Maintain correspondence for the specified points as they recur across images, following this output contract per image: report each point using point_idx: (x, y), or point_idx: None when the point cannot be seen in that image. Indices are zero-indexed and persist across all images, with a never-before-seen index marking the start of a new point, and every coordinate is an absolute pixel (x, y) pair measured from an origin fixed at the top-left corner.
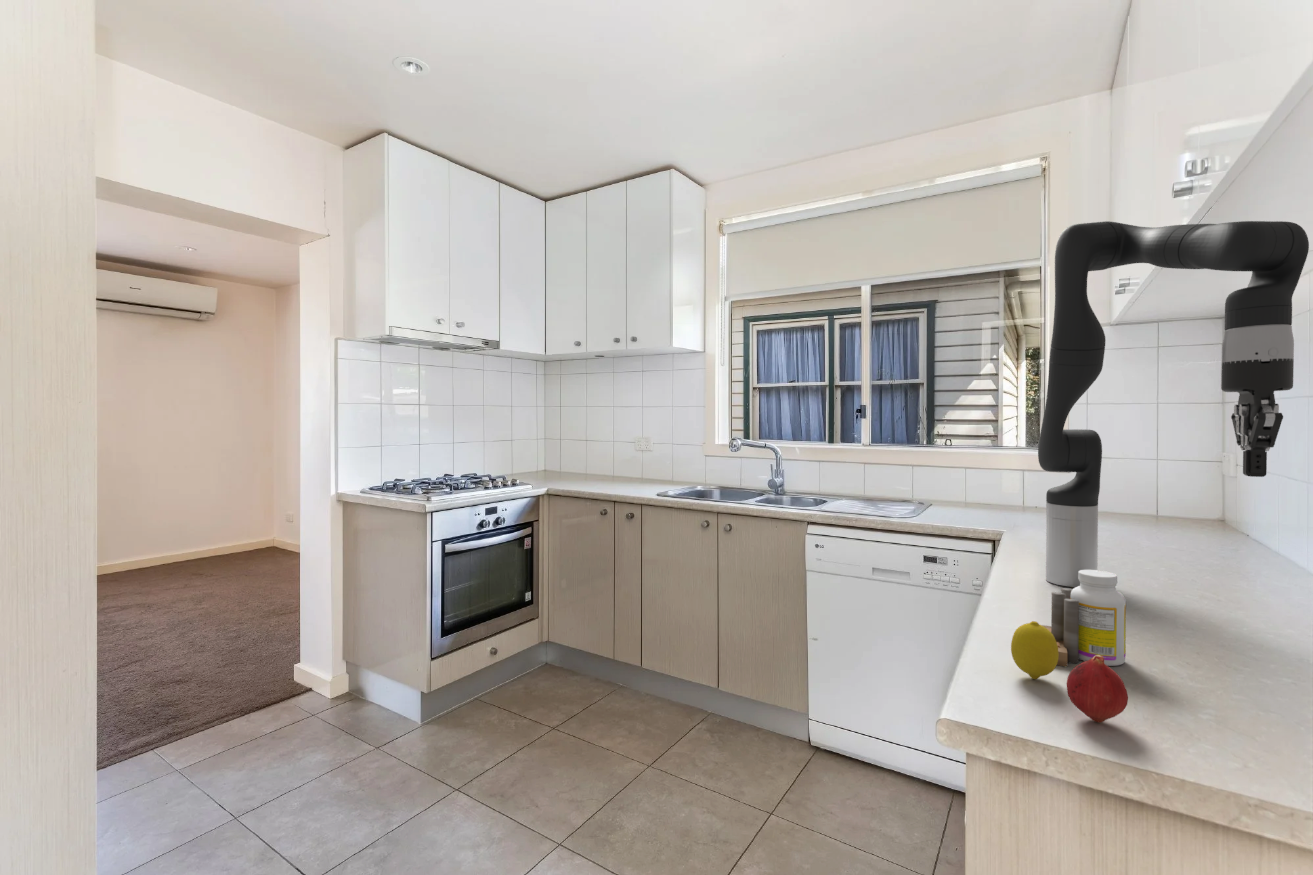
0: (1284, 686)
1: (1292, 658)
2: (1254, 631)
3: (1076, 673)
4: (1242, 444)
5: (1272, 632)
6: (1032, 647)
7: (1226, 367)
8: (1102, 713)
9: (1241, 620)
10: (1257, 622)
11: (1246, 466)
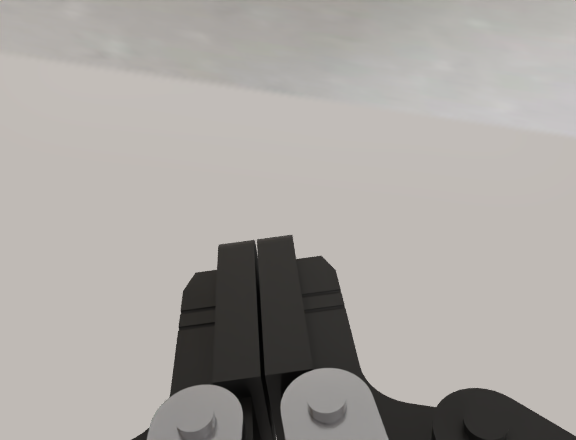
0: (64, 36)
1: (281, 79)
2: (464, 40)
3: None
4: (316, 424)
5: (473, 73)
6: None
7: None
8: None
9: (556, 26)
10: (550, 57)
11: (221, 283)
